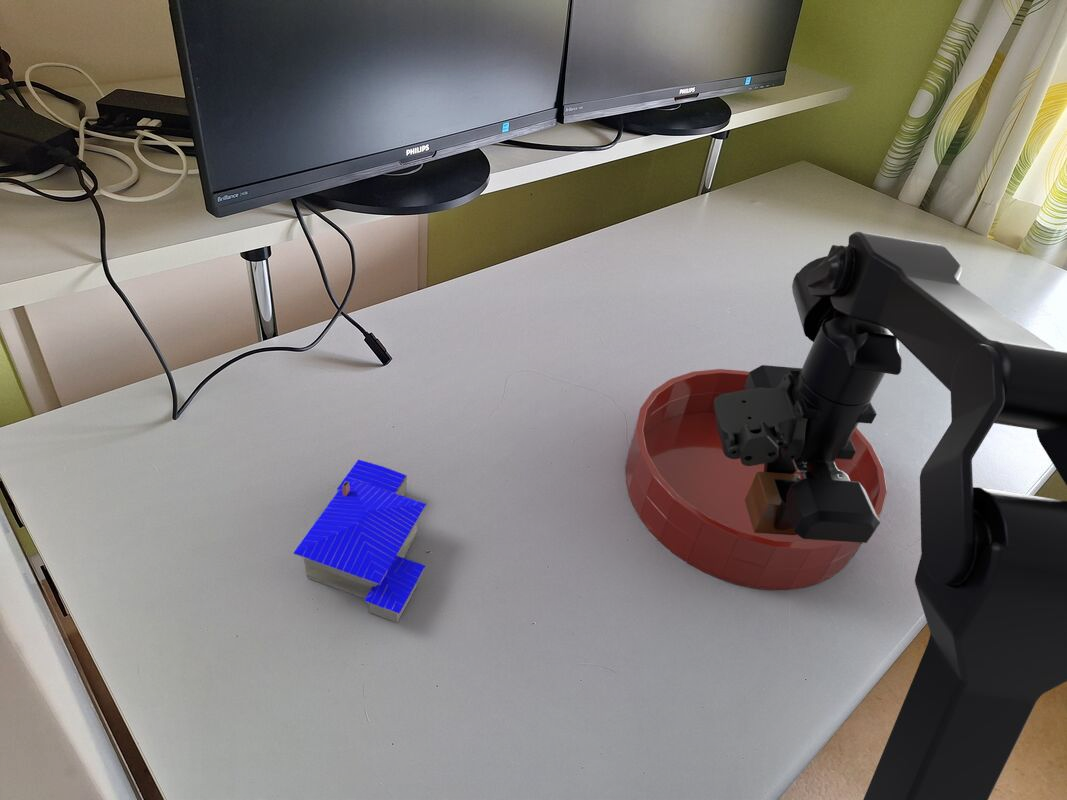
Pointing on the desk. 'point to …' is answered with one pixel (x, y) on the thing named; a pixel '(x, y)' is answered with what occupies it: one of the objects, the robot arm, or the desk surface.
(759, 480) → the block
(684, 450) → the red round bowl
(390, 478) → the house
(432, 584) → the desk surface
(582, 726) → the desk surface
